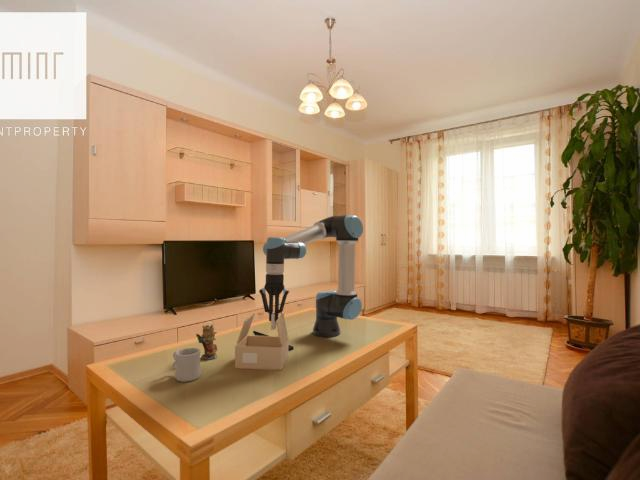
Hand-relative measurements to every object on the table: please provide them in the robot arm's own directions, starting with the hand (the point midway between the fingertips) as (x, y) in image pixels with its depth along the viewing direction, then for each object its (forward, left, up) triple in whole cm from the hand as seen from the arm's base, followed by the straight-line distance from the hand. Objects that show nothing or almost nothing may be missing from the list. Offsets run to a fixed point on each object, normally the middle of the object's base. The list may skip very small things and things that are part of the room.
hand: (273, 328), depth 142 cm
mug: (+17, -30, -15) cm, 38 cm away
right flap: (0, +5, -5) cm, 7 cm away
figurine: (-3, -30, -15) cm, 34 cm away
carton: (0, -4, -15) cm, 15 cm away
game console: (-17, -4, -15) cm, 23 cm away
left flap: (0, -14, -5) cm, 15 cm away
